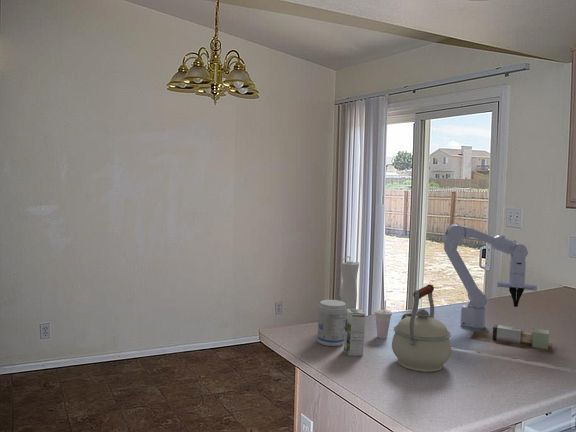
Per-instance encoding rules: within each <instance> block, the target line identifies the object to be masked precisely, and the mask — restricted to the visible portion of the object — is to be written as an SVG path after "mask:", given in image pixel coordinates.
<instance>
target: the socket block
mask: <svg viewBox="0 0 576 432" xmlns="http://www.w3.org/2000/svg"><path fill="white" fill-rule="evenodd" d="M532 333H533V340H532V347H537V348H542V349H548V343H549V338H550V330H549V329H548V330H547V329H541V328H535V327H534V328H533V330H532Z"/></svg>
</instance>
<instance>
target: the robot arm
mask: <svg viewBox="0 0 576 432" xmlns="http://www.w3.org/2000/svg"><path fill="white" fill-rule="evenodd" d="M463 238H464V239H469V238H472V239H473V238H474V239H477V240H479V241H482V242H484V243H487V244H489V245H490V246H491V247H492V249H493V250H496V251H498V252H501V253H504V254H507V255H510V261H509V281H497V282H496V284H497V285H496V286H497V288H508V291H509V293H510V295H511V299H512V302H513V307H515V308H518V306H519V303H520V300H521V297H522V295H523V293H524V291H525V290H527V291H534V292H536V291H537V290H538V285H535V284H528V283H526V268H527V267H526V265H527V264H526V263H527V262H526V257H528V254H529V251H528V249H527V247H526V245H524V244H522V243H520V242H518V241H517V240H512V239H509V238H507V237H506V236H505V235H503V234H501V235H500V234H499V235H495V236H492V235H490V234H487V233H485V232H483V231H480V230H477V229H475V228H472V227H470V226H465V225H459V224H458V223H451V224H450V225H449V226H448V227H447V229H446V231H445V233H444V244H443V250H444V252H445V254H446V256H447V257H448V260H449V261H450V263H451V265H452V267H453V268H454V270H455V271H456V274H457V275H458V277H459V279H460V281H461V283H462V285H463V286H464V288H465V290H466V292H467V297H468V298H467V299H468V300H469V302H468V303H467V304H463V305H462V307H461V312H460V326H463V327H468V328H474V329H484V328H486V318H487V317H486V315H487V314H486V313H487V306H486V305H487V302H488V298H487V296H486V294H484V292H483V291H482V289H480V288H479V287H478V285H477V283H476V282H475V280H474V278H473V276H472V275H471V273H470V271H469V269H468V268H467V265H466V263H465V262H464V260H463V258H462V257H461V255H460V253H459V251H458V247H459V244H460V242H461V241H462V240H463Z"/></svg>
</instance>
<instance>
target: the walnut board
mask: <svg viewBox="0 0 576 432" xmlns="http://www.w3.org/2000/svg"><path fill="white" fill-rule="evenodd" d="M492 337H493V333H488V332H483V331H482V332H481V331H475V330H474V331H473V333H472V334H471V336H470V337H469V339H470V340H475V341H481V342H482V341H483V342H487V343H488V342H489V343H492V344H493V343H494V344H500V345H506V346H512V347H515V348H517V347H518V348H523V349H528V350H535V351H542V352H546V353H551V352H552V343H550V342H548V349H542V348H537V347H532V343H528V342H522V341H521V343H520V344H515V343H509V342H503V341H497V338H496V339H492Z"/></svg>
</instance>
